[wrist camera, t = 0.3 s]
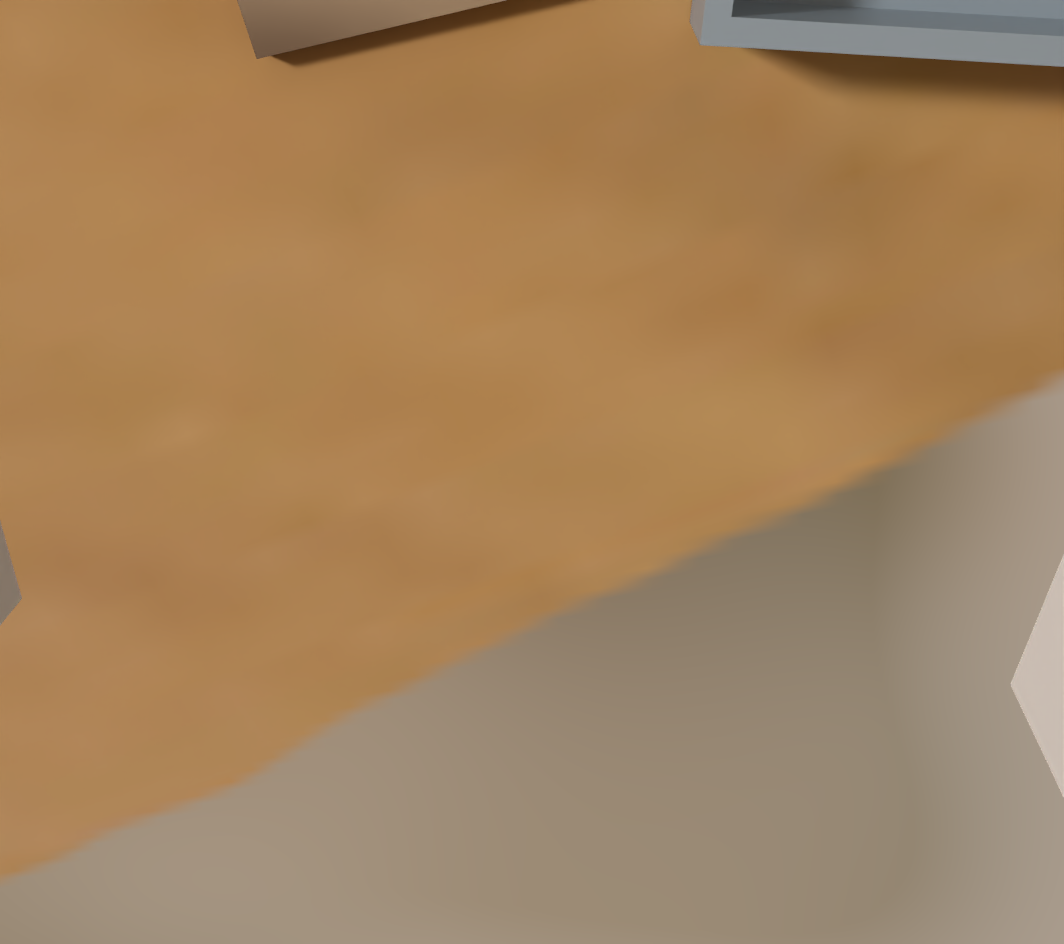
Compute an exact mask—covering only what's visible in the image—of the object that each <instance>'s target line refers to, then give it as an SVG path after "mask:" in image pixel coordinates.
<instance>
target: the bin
mask: <svg viewBox="0 0 1064 944" xmlns="http://www.w3.org/2000/svg"><path fill="white" fill-rule="evenodd" d="M690 24H691V26H692V28H693V30H694V33H695V35H696V37H697V39H698V42H699V44H700V45H708V46H725V47H742V48H758V49H775V50H792V51H808V52H825V53H842V54H859V55H875V56H892V57H909V58H926V59H942V60H959V61H976V62H993V63H1009V64H1026V65H1043V66H1060V67H1064V0H692V7H691V16H690Z"/></svg>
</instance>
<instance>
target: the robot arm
mask: <svg viewBox="0 0 1064 944" xmlns="http://www.w3.org/2000/svg"><path fill="white" fill-rule="evenodd" d="M21 599H22V597H21V594H20V590H19V586H18V583H17V579H16V576H15V572H14V569H13V565H12V562H11V558H10V554H9V551H8V547H7V544H6V540H5V537H4V533H3V530H2V526H1V522H0V625H1V624H2V622H3V621H4V620H5V619H6V617H7V616H8V615H9V614H10V612H11V611H12V610H13V609H14V608H15V606H16V605H17V604H18V603H19V601H20V600H21ZM1011 687H1012V689H1013V691H1014V693H1015V695H1016V697H1017V699H1018V702H1019V704H1020V706H1021V708H1022V710H1023V712H1024V715H1025V717H1026V719H1027V721H1028V723H1029V725H1030V727H1031V729H1032V731H1033V734H1034V736H1035V738H1036V740H1037V742H1038V744H1039V746H1040V748H1041V750H1042V752H1043V755H1044V757H1045V759H1046V761H1047V763H1048V765H1049V767H1050V770H1051V772H1052V774H1053V776H1054V778H1055V780H1056V782H1057V784H1058V786H1059V788H1060V791H1061V793H1062V795H1063V797H1064V555H1063V557H1062V560H1061V562H1060V565H1059V567H1058V570H1057V572H1056V575H1055V577H1054V580H1053V582H1052V584H1051V587H1050V589H1049V592H1048V594H1047V596H1046V599H1045V601H1044V604H1043V606H1042V609H1041V611H1040V614H1039V616H1038V619H1037V621H1036V624H1035V626H1034V628H1033V631H1032V633H1031V636H1030V638H1029V640H1028V643H1027V645H1026V648H1025V650H1024V653H1023V655H1022V658H1021V660H1020V663H1019V665H1018V667H1017V670H1016V672H1015V675H1014V677H1013V680H1012V682H1011Z"/></svg>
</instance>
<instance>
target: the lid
mask: <svg viewBox="0 0 1064 944" xmlns="http://www.w3.org/2000/svg"><path fill="white" fill-rule="evenodd" d="M237 1H238V4H239V7H240V10H241V13H242V16H243V19H244V22H245V25H246V28H247V31H248V34H249V37H250V40H251V43H252V46H253V49H254V52H255V55H256V58H257V59H259V58H263V57H267V56H272V55H276V54H280V53H284V52H289V51H293V50H297V49H301V48H306V47H310V46H314V45H318V44H323V43H327V42H331V41H335V40H340V39H344V38H348V37H352V36H357V35H361V34H365V33H369V32H374V31H378V30H382V29H386V28H391V27H395V26H399V25H403V24H408V23H412V22H416V21H420V20H425V19H429V18H433V17H437V16H442V15H446V14H450V13H454V12H459V11H463V10H467V9H471V8H476V7H480V6H484V5H488V4H493V3H497V2H501V1H505V0H237Z"/></svg>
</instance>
